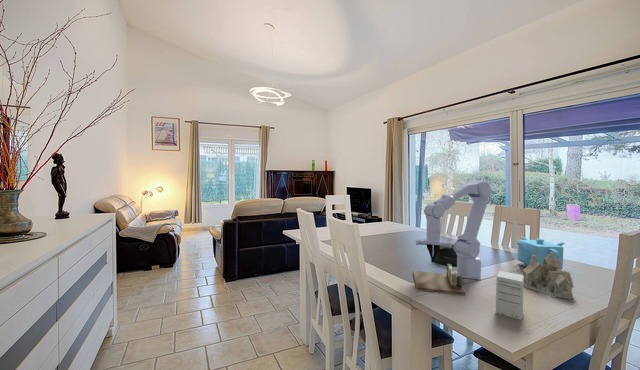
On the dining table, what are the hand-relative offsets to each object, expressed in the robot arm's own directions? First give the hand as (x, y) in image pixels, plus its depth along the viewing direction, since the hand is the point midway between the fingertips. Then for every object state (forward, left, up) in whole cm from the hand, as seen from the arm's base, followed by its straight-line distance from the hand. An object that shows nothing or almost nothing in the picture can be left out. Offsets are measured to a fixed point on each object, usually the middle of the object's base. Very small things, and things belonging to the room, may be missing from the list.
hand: (432, 261), depth 125 cm
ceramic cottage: (-43, -2, -8) cm, 44 cm away
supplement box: (-21, +24, -8) cm, 33 cm away
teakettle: (-53, -33, -8) cm, 63 cm away
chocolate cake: (-12, -29, -9) cm, 32 cm away
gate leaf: (-7, +3, -7) cm, 10 cm away
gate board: (-1, +3, -8) cm, 9 cm away
